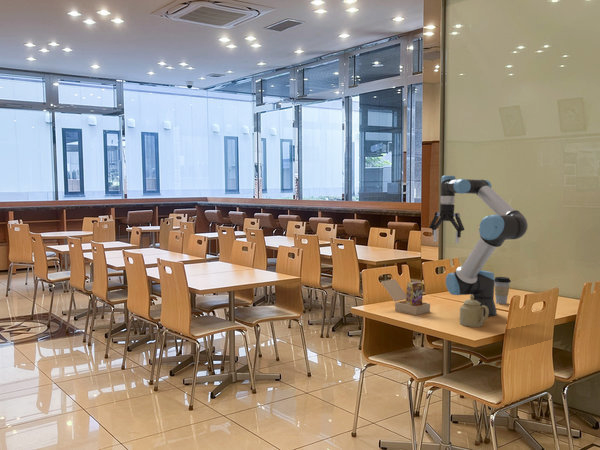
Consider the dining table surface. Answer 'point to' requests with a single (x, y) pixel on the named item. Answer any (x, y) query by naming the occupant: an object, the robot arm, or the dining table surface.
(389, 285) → the lid
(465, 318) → the grey round pot
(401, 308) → the box
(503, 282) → the coffee cup
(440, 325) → the dining table surface
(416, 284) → the candy box
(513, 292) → the dining table surface
